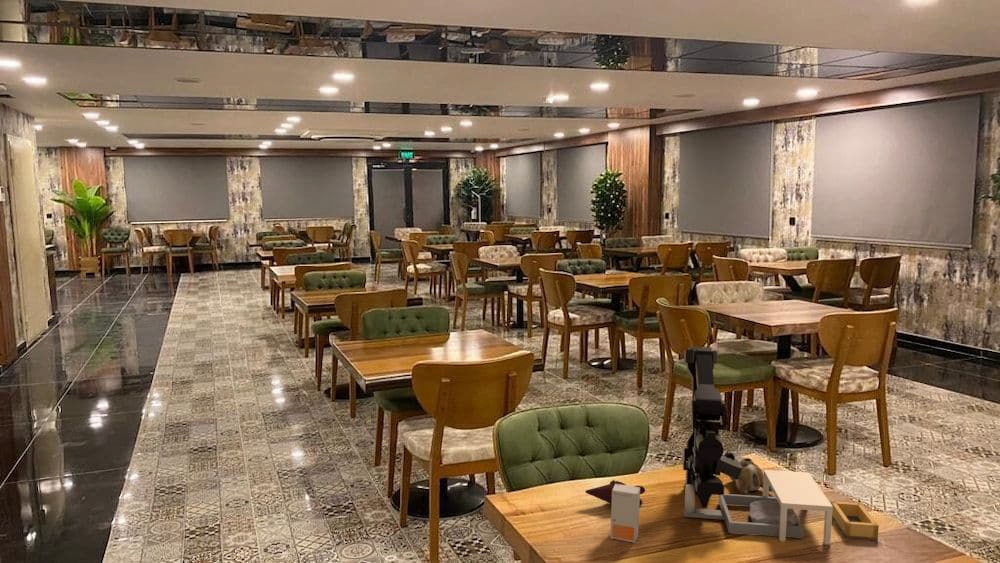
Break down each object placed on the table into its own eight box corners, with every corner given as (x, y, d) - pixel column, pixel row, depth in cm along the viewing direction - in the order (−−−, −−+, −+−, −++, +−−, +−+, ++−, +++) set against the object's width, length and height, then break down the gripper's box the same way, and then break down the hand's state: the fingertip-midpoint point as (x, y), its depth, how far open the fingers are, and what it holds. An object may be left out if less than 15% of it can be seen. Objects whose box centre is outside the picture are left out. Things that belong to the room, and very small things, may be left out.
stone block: (757, 539, 169) (800, 534, 167) (753, 520, 168) (797, 514, 167) (746, 519, 180) (787, 513, 179) (743, 500, 180) (784, 495, 179)
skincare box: (609, 539, 165) (611, 490, 163) (613, 531, 169) (614, 483, 167) (636, 543, 163) (637, 493, 161) (639, 535, 167) (640, 486, 165)
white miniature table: (779, 540, 164) (782, 503, 163) (762, 503, 184) (763, 469, 183) (830, 544, 162) (832, 506, 161) (806, 506, 182) (808, 472, 181)
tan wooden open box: (845, 538, 166) (846, 523, 165) (830, 515, 177) (831, 501, 177) (877, 540, 165) (878, 525, 164) (860, 517, 176) (860, 503, 176)
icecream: (588, 489, 177) (648, 494, 177) (585, 471, 184) (643, 476, 184) (584, 512, 180) (644, 517, 180) (582, 493, 187) (639, 498, 187)
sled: (686, 529, 169) (687, 499, 168) (680, 500, 185) (681, 472, 184) (802, 538, 165) (804, 507, 164) (785, 507, 181) (787, 479, 180)
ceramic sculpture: (753, 446, 201) (782, 470, 186) (751, 475, 202) (780, 500, 188) (718, 449, 199) (744, 472, 184) (716, 477, 201) (742, 503, 186)
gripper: (747, 462, 164) (745, 526, 166) (733, 435, 182) (731, 493, 184) (698, 459, 165) (696, 523, 167) (688, 433, 184) (687, 490, 186)
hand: (704, 507), depth 176 cm, fingers closed
